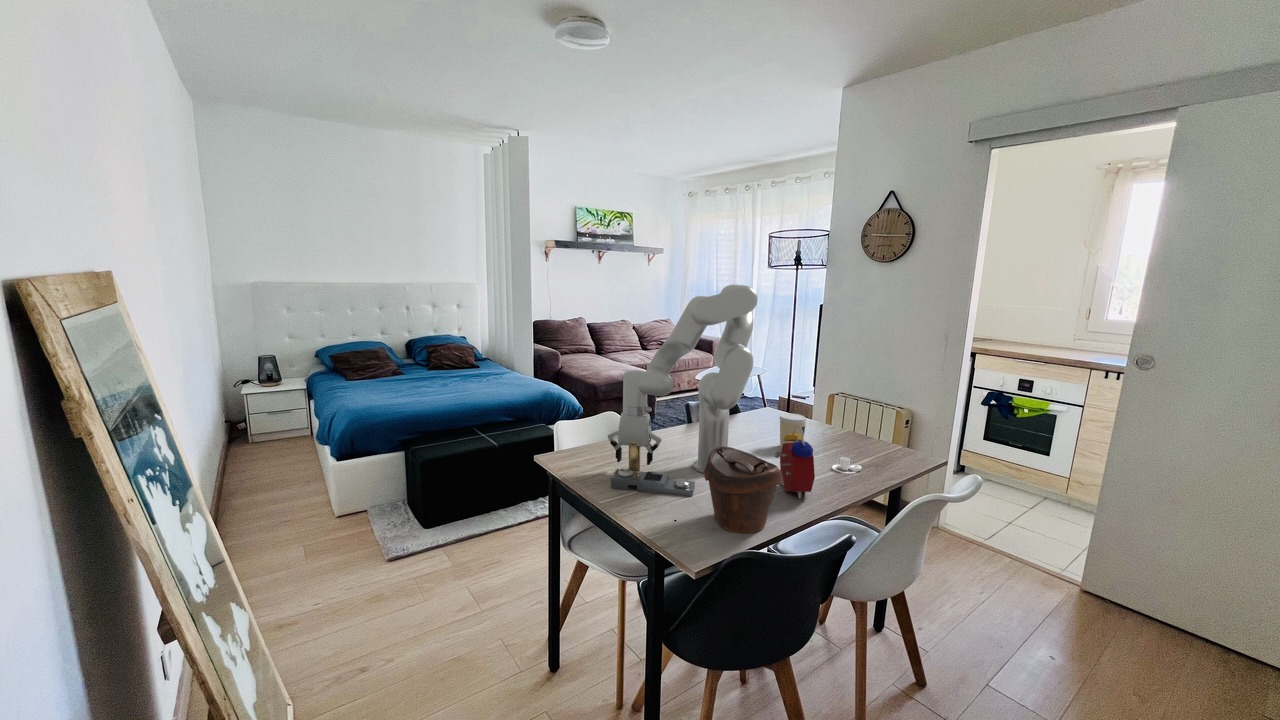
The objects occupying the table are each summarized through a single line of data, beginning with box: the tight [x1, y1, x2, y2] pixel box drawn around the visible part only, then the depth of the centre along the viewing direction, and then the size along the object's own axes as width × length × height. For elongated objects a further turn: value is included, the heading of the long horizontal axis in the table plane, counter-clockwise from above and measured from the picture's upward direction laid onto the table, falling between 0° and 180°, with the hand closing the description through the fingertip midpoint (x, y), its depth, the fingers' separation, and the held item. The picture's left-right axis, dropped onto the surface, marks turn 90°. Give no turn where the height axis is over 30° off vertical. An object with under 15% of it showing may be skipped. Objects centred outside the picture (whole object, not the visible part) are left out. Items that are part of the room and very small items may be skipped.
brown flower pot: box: [703, 446, 784, 534], centre depth 129 cm, size 18×20×18 cm
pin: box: [628, 442, 641, 471], centre depth 162 cm, size 5×5×11 cm
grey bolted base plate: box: [610, 468, 696, 497], centre depth 151 cm, size 24×8×4 cm, turn 78°
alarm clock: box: [774, 426, 816, 499], centre depth 149 cm, size 15×9×20 cm, turn 179°
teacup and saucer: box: [831, 456, 863, 475], centre depth 168 cm, size 9×8×4 cm
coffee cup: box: [779, 413, 807, 449], centre depth 187 cm, size 9×9×12 cm
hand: (634, 462), depth 162 cm, fingers open, 9 cm apart
